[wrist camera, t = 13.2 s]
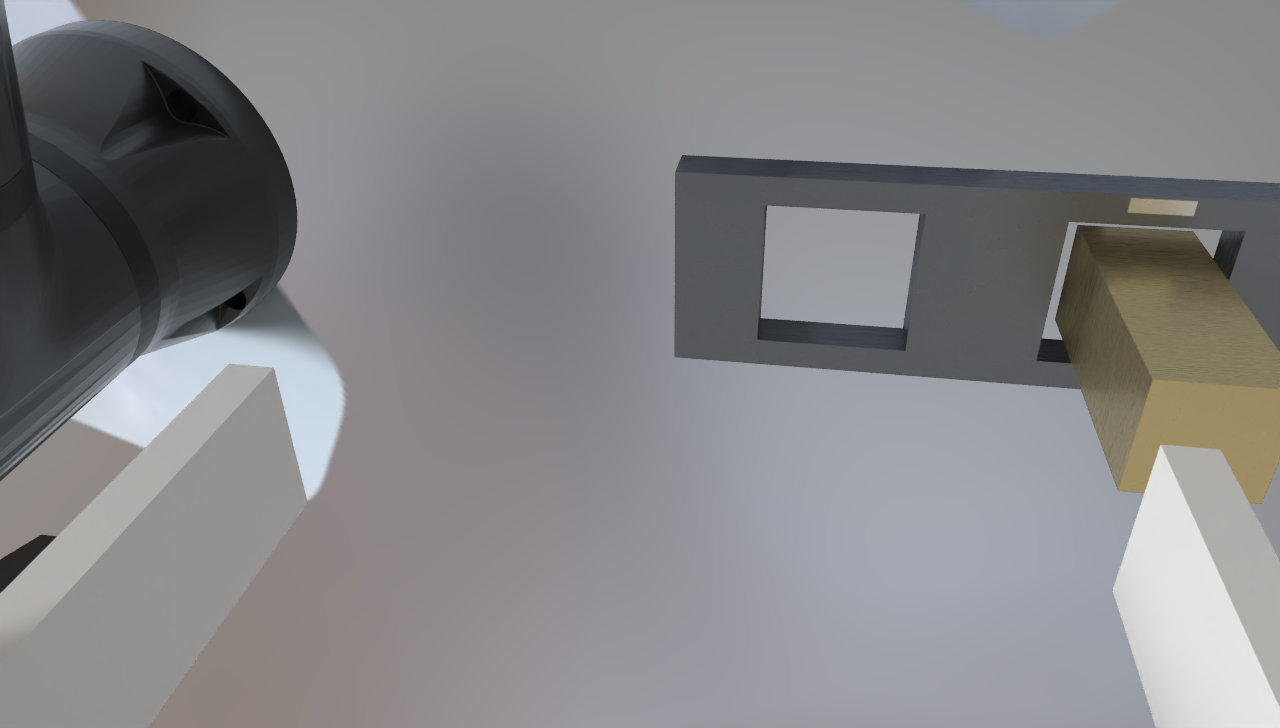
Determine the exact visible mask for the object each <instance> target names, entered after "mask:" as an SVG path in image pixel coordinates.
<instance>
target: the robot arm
mask: <svg viewBox="0 0 1280 728" xmlns="http://www.w3.org/2000/svg"><path fill="white" fill-rule="evenodd" d="M296 233H297V207H296V199H295V193H294V188H293V184H292V180H291V176H290V173H289V170H288V167H287V164H286V162H285V160H284V157H283V154H282V152H281V150H280V148H279V146H278V144H277V142H276V140H275V138H274V136H273V135H272V133H271V131H270V129H269V128H268V126H267V125H266V123H265V122H264V120H263V118H262V117H261V116H260V114H259V113H258V111H257V110H256V109H255V108H254V106H253V105H252V104H251V103H250V101H249V100H248V99H247V98H246V96H244V94H243V93H242V92H241V91H240V90H239V89H238V88H237V87H236V86H235V85H234V84H233V83H232V82H231V81H230V80H229V79H228V78H227V77H226V76H225V75H224V74H223V73H222V72H220V71H219V70H218V69H217V68H216V67H214V66H213V65H212V64H211V63H210V62H208V61H207V60H206V59H204V58H203V57H201V56H200V55H198V54H197V53H196V52H194V51H192V50H191V49H189V48H187V47H186V46H184V45H182V44H180V43H179V42H177V41H175V40H173V39H171V38H169V37H166V36H164V35H162V34H160V33H157V32H155V31H152V30H150V29H146V28H143V27H140V26H137V25H132V24H128V23H123V22H116V21H105V20H88V21H79V22H74V23H69V24H66V25H63V26H59V27H56V28H54V29H51V30H48V31H45V32H43V33H40V34H37V35H34V36H32V37H29V38H27V39H25V40H22V41H20V42H19V43H17V44H15V45H13V46H12V45H11V39H10V34H9V29H8V23H7V17H6V11H5V5H4V0H0V481H1V480H2V479H3V478H4V477H5V476H7V475H8V474H9V473H10V472H11V471H12V470H13V469H14V468H15V467H17V466H18V465H19V464H20V463H21V462H22V461H23V460H24V459H25V458H27V457H28V456H29V455H30V454H31V453H32V452H33V451H34V450H35V449H37V448H38V447H39V446H40V445H41V444H42V443H43V442H44V441H45V440H46V439H47V438H49V437H50V436H51V435H52V434H53V433H54V432H55V431H57V430H58V429H59V428H60V427H61V426H62V425H63V424H64V423H65V422H67V421H68V420H69V419H70V418H71V417H72V416H73V415H74V414H75V413H77V412H78V411H79V410H80V409H81V408H82V407H83V406H84V405H85V404H87V403H88V402H89V401H90V400H91V399H92V398H93V397H94V396H95V395H97V394H98V393H99V392H100V391H101V390H102V389H103V388H104V387H105V386H107V385H108V384H109V383H110V382H111V381H112V380H113V379H114V378H115V377H117V376H118V375H119V374H120V373H121V372H122V371H123V370H124V369H125V368H126V367H128V366H129V365H130V364H131V363H132V362H133V361H135V360H136V359H137V358H138V357H139V356H141V355H144V354H147V353H150V352H153V351H156V350H159V349H162V348H165V347H168V346H172V345H175V344H178V343H181V342H184V341H187V340H190V339H193V338H196V337H199V336H202V335H205V334H208V333H211V332H214V331H217V330H219V329H222V328H224V327H226V326H228V325H230V324H231V323H233V322H235V321H236V320H238V319H239V318H241V317H242V316H244V315H245V314H246V313H247V312H249V311H250V310H251V309H252V308H253V307H254V306H255V305H256V304H257V303H258V302H259V301H260V300H261V299H262V298H263V297H265V296H266V295H267V294H268V293H269V292H270V291H271V290H272V289H273V288H274V286H275V285H276V284H277V283H278V282H279V280H280V279H281V277H282V276H283V274H284V272H285V270H286V268H287V266H288V264H289V262H290V259H291V256H292V253H293V250H294V245H295V240H296ZM307 503H308V502H307V498H306V494H305V490H304V486H303V482H302V478H301V474H300V470H299V466H298V462H297V459H296V455H295V451H294V447H293V443H292V439H291V435H290V431H289V427H288V423H287V419H286V415H285V411H284V407H283V403H282V399H281V395H280V391H279V387H278V383H277V379H276V375H275V371H274V368H271V367H259V366H248V365H236V364H229V365H228V366H227V367H226V368H225V369H224V370H223V371H222V372H221V373H220V374H219V375H218V376H217V377H216V378H215V379H214V380H213V381H212V382H211V383H210V384H209V385H208V386H207V387H206V388H205V389H204V390H203V391H202V392H201V393H200V394H199V395H198V396H197V397H196V398H195V399H194V400H193V401H192V402H191V403H190V404H189V405H188V406H187V407H186V408H185V409H184V410H183V411H182V412H181V413H180V414H179V415H178V416H177V417H176V418H175V419H174V420H173V421H172V422H171V423H170V424H169V425H168V426H167V427H166V428H165V429H164V430H163V431H162V432H161V433H160V434H159V435H158V436H157V437H156V438H155V439H154V440H153V441H152V442H151V443H150V444H149V445H148V446H147V447H146V448H145V449H144V450H143V451H142V452H141V453H140V454H139V455H138V456H137V457H136V458H135V459H134V460H133V461H132V462H131V463H130V464H129V465H128V466H127V467H126V468H125V469H124V470H123V471H122V472H121V473H120V474H119V475H118V476H117V477H116V478H115V479H114V480H113V481H112V482H111V483H110V484H109V485H108V486H107V487H106V488H105V489H104V490H103V491H102V492H101V493H100V494H99V495H98V496H97V497H96V498H95V499H94V500H93V501H92V502H91V503H90V504H89V505H88V506H87V507H86V508H85V509H84V510H83V511H82V512H81V513H80V514H79V515H78V516H77V517H76V518H75V519H74V520H73V521H72V522H71V523H70V524H69V525H68V526H67V527H66V528H65V529H64V530H63V531H62V532H61V533H60V534H59V535H58V536H47V535H40V536H39V537H37V538H35V539H34V540H32V541H30V542H29V543H27V544H25V545H24V546H22V547H20V548H19V549H17V550H15V551H14V552H12V553H10V554H9V555H7V556H5V557H4V558H2V559H1V560H0V728H148V727H149V726H150V724H151V723H152V721H153V720H154V719H155V717H156V716H157V714H158V713H159V711H160V710H161V708H162V707H163V706H164V704H165V703H166V701H167V700H168V699H169V697H170V696H171V695H172V693H173V691H174V690H175V689H176V687H177V686H178V685H179V683H180V682H181V680H182V679H183V677H184V676H185V675H186V673H187V672H188V671H189V669H190V668H191V666H192V665H193V664H194V662H195V661H196V659H197V658H198V657H199V655H200V654H201V652H202V651H203V649H204V648H205V647H206V645H207V644H208V642H209V641H210V640H211V638H212V637H213V635H214V633H215V632H216V631H217V630H218V628H219V627H220V625H221V624H222V623H223V621H224V620H225V618H226V617H227V615H228V614H229V613H230V611H231V610H232V609H233V607H234V606H235V604H236V603H237V602H238V600H239V599H240V597H241V596H242V595H243V593H244V592H245V590H246V589H247V587H248V586H249V585H250V583H251V581H252V580H253V579H254V577H255V576H256V575H257V573H258V572H259V570H260V569H261V567H262V566H263V565H264V563H265V562H266V561H267V559H268V558H269V556H270V555H271V553H272V552H273V551H274V549H275V548H276V547H277V545H278V544H279V542H280V541H281V540H282V538H283V537H284V535H285V534H286V533H287V531H288V530H289V528H290V527H291V525H292V524H293V523H294V521H295V520H296V518H297V517H298V516H299V514H300V512H301V511H302V510H303V509H304V507H305V506H306V504H307ZM1112 591H1113V594H1114V597H1115V600H1116V603H1117V606H1118V610H1119V612H1120V616H1121V619H1122V622H1123V625H1124V628H1125V631H1126V635H1127V638H1128V641H1129V644H1130V647H1131V650H1132V653H1133V657H1134V660H1135V663H1136V666H1137V669H1138V672H1139V676H1140V679H1141V682H1142V685H1143V688H1144V691H1145V695H1146V698H1147V701H1148V704H1149V707H1150V710H1151V714H1152V717H1153V720H1154V723H1155V726H1156V728H1280V560H1279V558H1278V556H1277V554H1276V552H1275V550H1274V549H1273V547H1272V545H1271V543H1270V541H1269V539H1268V537H1267V535H1266V534H1265V532H1264V530H1263V528H1262V526H1261V524H1260V523H1259V520H1258V519H1257V517H1256V515H1255V513H1254V511H1253V509H1252V508H1251V506H1250V504H1249V502H1248V500H1247V498H1246V496H1245V494H1244V492H1243V491H1242V489H1241V487H1240V485H1239V483H1238V481H1237V479H1236V477H1235V476H1234V474H1233V472H1232V470H1231V468H1230V466H1229V464H1228V462H1227V461H1226V459H1225V457H1224V455H1223V453H1222V451H1221V450H1219V449H1207V448H1196V447H1184V446H1173V445H1160V448H1159V451H1158V454H1157V457H1156V460H1155V463H1154V466H1153V469H1152V472H1151V475H1150V478H1149V481H1148V484H1147V487H1146V490H1145V493H1144V496H1143V499H1142V503H1141V506H1140V509H1139V511H1138V514H1137V517H1136V520H1135V523H1134V526H1133V530H1132V533H1131V536H1130V539H1129V542H1128V545H1127V548H1126V551H1125V554H1124V557H1123V560H1122V563H1121V566H1120V569H1119V572H1118V575H1117V578H1116V581H1115V584H1114V587H1113V590H1112Z"/></svg>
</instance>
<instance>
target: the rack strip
mask: <svg viewBox="0 0 1280 728" xmlns="http://www.w3.org/2000/svg"><path fill="white" fill-rule="evenodd" d="M675 177H676V178H675V357H682V358H695V359H707V360H720V361H732V362H744V363H757V364H770V365H783V366H795V367H809V368H820V369H821V368H822V369H833V370H845V371H858V372H870V373H883V374H897V375H908V376H921V377H934V378H947V379H959V380H971V381H985V382H997V383H1009V384H1023V385H1035V386H1047V387H1060V388H1072V389H1073V388H1074V389H1081V388H1080V385H1079V383H1078V380H1077V377H1076V375H1075V372H1074V369H1073V366H1072V364H1071V361H1070V358H1069V355H1068V353H1067V350H1066V347H1065V345H1064V342H1063V340H1053V339H1041V338H1042V334H1043V329H1044V325H1045V321H1046V317H1047V312H1048V308H1049V304H1050V300H1051V295H1052V291H1053V287H1054V283H1055V278H1056V274H1057V270H1058V266H1059V261H1060V257H1061V253H1062V248H1063V244H1064V240H1065V236H1066V231H1067V227H1068V222H1085V223H1104V224H1121V225H1122V224H1123V225H1140V226H1159V227H1177V228H1196V229H1214V230H1223V231H1222V234H1221V237H1220V240H1219V243H1218V246H1217V250H1216V253H1215V255H1214V258H1213V260H1214V261H1215V263H1216V264H1217V265H1218V267H1219V268H1220V270H1221V271H1222V272H1223V274H1224V275H1225V276H1226V278H1227V279H1228V281H1229V282H1230V283H1231V285H1232V286H1233V288H1234V289H1235V290H1236V292H1237V293H1238V295H1239V296H1240V297H1241V299H1242V300H1243V302H1244V303H1245V304H1246V306H1247V307H1248V309H1249V310H1250V311H1251V313H1252V314H1253V315H1254V317H1255V318H1256V320H1257V321H1258V322H1259V324H1260V325H1261V327H1262V328H1263V329H1264V331H1265V332H1266V334H1267V335H1268V336H1269V338H1270V339H1271V341H1272V342H1273V343H1274V345H1275V346H1276V347H1277V349H1278V350H1279V352H1280V183H1260V182H1259V183H1258V182H1238V181H1236V182H1235V181H1217V180H1216V181H1215V180H1194V179H1175V178H1152V177H1132V176H1111V175H1087V174H1068V173H1046V172H1026V171H1025V172H1024V171H1005V170H984V169H961V168H941V167H920V166H919V167H918V166H899V165H898V166H897V165H877V164H856V163H835V162H833V163H832V162H813V161H792V160H771V159H750V158H728V157H707V156H686V155H682V157H681V160H680V162H679V164H678V167H677V170H676V175H675ZM767 205H772V206H790V207H808V208H809V207H810V208H827V209H845V210H864V211H883V212H902V213H919V214H920V217H919V223H918V230H917V237H916V244H915V251H914V257H913V265H912V271H911V278H910V285H909V292H908V299H907V305H906V312H905V319H904V326H903V329H901V328H888V327H874V326H859V325H846V324H832V323H817V322H804V321H790V320H777V319H762V318H760V314H761V297H762V281H763V263H764V246H765V229H766V210H767Z"/></svg>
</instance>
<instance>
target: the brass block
mask: <svg viewBox="0 0 1280 728" xmlns="http://www.w3.org/2000/svg"><path fill="white" fill-rule="evenodd" d="M1055 320H1056V323H1057V325H1058V328H1059V331H1060V333H1061V336H1062V339H1063V342H1064V345H1065V347H1066V350H1067V353H1068V355H1069V358H1070V361H1071V364H1072V366H1073V369H1074V372H1075V375H1076V377H1077V380H1078V383H1079V385H1080V388H1081V391H1082V393H1083V396H1084V399H1085V401H1086V404H1087V407H1088V410H1089V412H1090V415H1091V418H1092V421H1093V423H1094V426H1095V429H1096V431H1097V434H1098V437H1099V440H1100V443H1101V445H1102V448H1103V451H1104V453H1105V456H1106V459H1107V462H1108V464H1109V467H1110V470H1111V472H1112V475H1113V478H1114V480H1115V483H1116V486H1117V489H1118V490H1119V491H1128V492H1138V493H1145V490H1146V487H1147V484H1148V481H1149V478H1150V475H1151V472H1152V469H1153V466H1154V463H1155V460H1156V457H1157V454H1158V451H1159V448H1160V445H1173V446H1184V447H1196V448H1207V449H1219V450H1221V451H1222V453H1223V455H1224V457H1225V459H1226V461H1227V462H1228V464H1229V466H1230V468H1231V470H1232V472H1233V474H1234V476H1235V477H1236V479H1237V481H1238V483H1239V485H1240V487H1241V489H1242V491H1243V492H1244V494H1245V496H1246V498H1247V500H1248V502H1249V503H1256V504H1262V502H1263V499H1264V497H1265V494H1266V492H1267V489H1268V487H1269V484H1270V482H1271V480H1272V477H1273V475H1274V472H1275V470H1276V468H1277V465H1278V463H1279V461H1280V352H1279V350H1278V349H1277V347H1276V346H1275V345H1274V343H1273V342H1272V341H1271V339H1270V338H1269V336H1268V335H1267V334H1266V332H1265V331H1264V329H1263V328H1262V327H1261V325H1260V324H1259V322H1258V321H1257V320H1256V318H1255V317H1254V315H1253V314H1252V313H1251V311H1250V310H1249V309H1248V307H1247V306H1246V304H1245V303H1244V302H1243V300H1242V299H1241V297H1240V296H1239V295H1238V293H1237V292H1236V290H1235V289H1234V288H1233V286H1232V285H1231V283H1230V282H1229V281H1228V279H1227V278H1226V276H1225V275H1224V274H1223V272H1222V271H1221V270H1220V268H1219V267H1218V265H1217V264H1216V263H1215V261H1214V260H1213V258H1212V257H1211V256H1210V254H1209V253H1208V251H1207V250H1206V249H1205V247H1204V246H1203V244H1202V243H1201V242H1200V240H1199V239H1198V237H1197V236H1196V235H1195V233H1194V232H1192V231H1175V230H1158V229H1139V228H1120V227H1103V226H1084V225H1083V226H1082V225H1078V226H1077V230H1076V234H1075V239H1074V242H1073V247H1072V251H1071V255H1070V259H1069V263H1068V268H1067V272H1066V276H1065V280H1064V284H1063V289H1062V293H1061V297H1060V301H1059V305H1058V309H1057V314H1056V318H1055Z"/></svg>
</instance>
